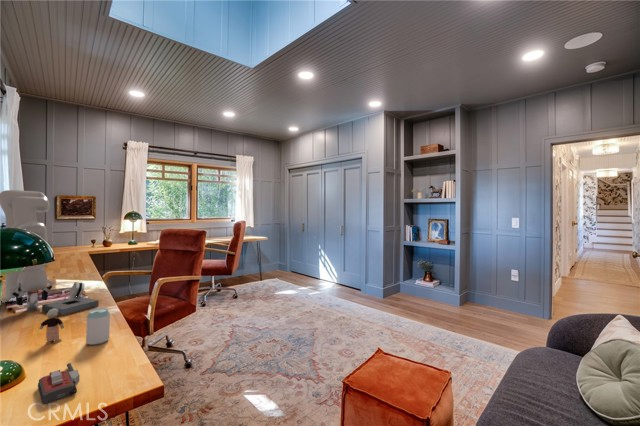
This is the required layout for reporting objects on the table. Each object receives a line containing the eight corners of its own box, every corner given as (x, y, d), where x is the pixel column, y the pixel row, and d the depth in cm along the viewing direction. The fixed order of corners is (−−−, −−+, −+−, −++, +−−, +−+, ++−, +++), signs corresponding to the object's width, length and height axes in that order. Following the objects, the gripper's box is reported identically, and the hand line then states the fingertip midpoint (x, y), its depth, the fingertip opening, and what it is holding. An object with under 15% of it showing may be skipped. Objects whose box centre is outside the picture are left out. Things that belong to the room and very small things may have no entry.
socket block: (42, 311, 143) (42, 304, 143) (78, 301, 157) (79, 296, 157) (62, 315, 137) (62, 309, 137) (98, 305, 152) (98, 300, 152)
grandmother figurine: (66, 338, 114) (67, 306, 114) (62, 342, 110) (63, 309, 110) (40, 341, 110) (41, 308, 110) (36, 346, 107) (37, 311, 107)
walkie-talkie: (85, 393, 81) (72, 367, 94) (86, 378, 81) (73, 353, 94) (42, 409, 74) (35, 378, 88) (42, 392, 74) (35, 363, 88)
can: (110, 342, 111) (111, 311, 111) (87, 347, 106) (87, 315, 106) (107, 336, 116) (108, 306, 116) (85, 341, 112) (86, 310, 112)
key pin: (24, 310, 143) (25, 290, 143) (35, 308, 146) (35, 288, 146) (29, 311, 141) (30, 291, 141) (39, 309, 145) (40, 289, 145)
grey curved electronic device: (65, 296, 167) (73, 279, 169) (75, 297, 170) (83, 280, 172) (66, 303, 155) (75, 284, 157) (77, 304, 158) (85, 286, 160)
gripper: (50, 264, 153) (49, 296, 153) (5, 270, 137) (4, 306, 137) (58, 265, 150) (58, 298, 150) (14, 271, 134) (13, 308, 134)
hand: (32, 302), depth 144 cm, fingers open, 9 cm apart
